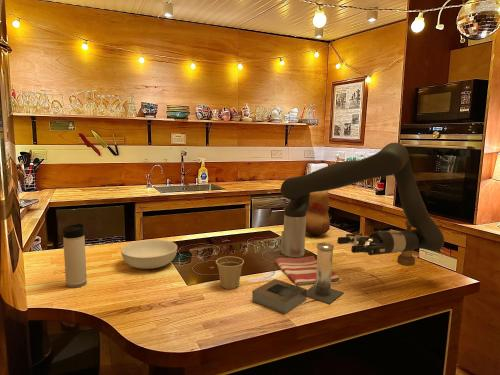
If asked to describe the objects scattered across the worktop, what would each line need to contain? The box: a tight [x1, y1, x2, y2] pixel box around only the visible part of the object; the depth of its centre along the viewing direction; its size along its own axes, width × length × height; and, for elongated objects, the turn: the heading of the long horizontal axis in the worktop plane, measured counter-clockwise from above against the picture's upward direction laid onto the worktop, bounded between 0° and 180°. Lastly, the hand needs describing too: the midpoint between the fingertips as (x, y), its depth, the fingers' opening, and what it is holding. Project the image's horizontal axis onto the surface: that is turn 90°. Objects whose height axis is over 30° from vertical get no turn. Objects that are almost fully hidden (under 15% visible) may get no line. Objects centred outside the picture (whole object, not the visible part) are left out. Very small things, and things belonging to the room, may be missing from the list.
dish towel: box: [274, 255, 340, 287], centre depth 136 cm, size 17×24×3 cm
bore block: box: [251, 278, 308, 315], centre depth 112 cm, size 12×12×4 cm
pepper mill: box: [396, 220, 416, 266], centre depth 146 cm, size 7×6×18 cm
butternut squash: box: [305, 190, 331, 237], centre depth 182 cm, size 14×13×25 cm
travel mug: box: [62, 223, 88, 289], centre depth 120 cm, size 6×7×20 cm
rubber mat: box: [306, 284, 344, 305], centre depth 117 cm, size 10×10×1 cm
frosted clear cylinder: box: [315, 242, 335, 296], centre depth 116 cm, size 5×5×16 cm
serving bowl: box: [120, 239, 178, 270], centre depth 139 cm, size 21×21×7 cm
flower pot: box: [215, 255, 245, 290], centre depth 122 cm, size 9×9×9 cm
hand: (344, 244), depth 117 cm, fingers open, 8 cm apart
